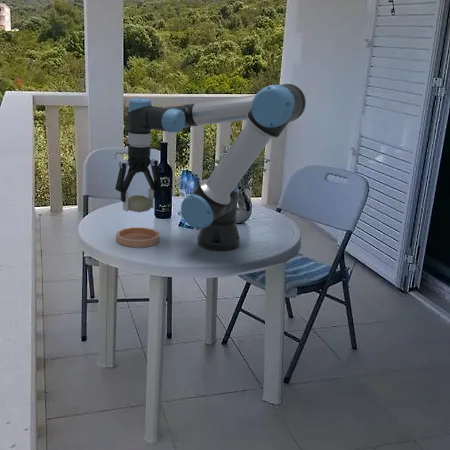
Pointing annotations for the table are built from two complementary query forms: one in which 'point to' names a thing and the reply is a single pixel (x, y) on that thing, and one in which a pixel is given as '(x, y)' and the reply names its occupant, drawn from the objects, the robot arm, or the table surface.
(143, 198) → the sea urchin shell
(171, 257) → the table surface
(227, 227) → the robot arm
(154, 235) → the saucer
